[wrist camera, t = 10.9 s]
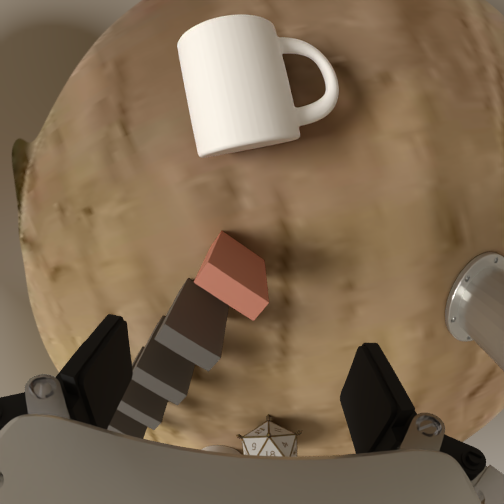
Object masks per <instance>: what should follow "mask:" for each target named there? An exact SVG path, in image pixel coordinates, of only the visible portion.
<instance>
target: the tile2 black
mask: <svg viewBox="0 0 504 504" xmlns="http://www.w3.org/2000/svg"><path fill="white" fill-rule="evenodd" d="M228 309H229V305H228V304H226V303H224V302H223V301H221V300H220V299H218V298H217V297H215V296H214V295H212V294H211V293H209V292H208V291H206V290H204V289H203V288H201V287H200V286H198V285H197V284H195V283H194V282H193V281H192V280H190V279H189V278H188V279H187V281H186V282H185V283H184V285H183V286H182V288H181V289H180V291H179V293H178V295H177V296H176V298H175V300H174V302H173V304H172V306H171V308H170V310H169V311H168V313H167V315H166V317H165V319H164V321H163V323H162V325H161V327H160V329H159V331H158V333H157V335H156V337H155V340H156V341H158V342H159V343H161V344H163V345H164V346H166V347H167V348H169V349H171V350H172V351H174V352H176V353H177V354H179V355H181V356H182V357H184V358H186V359H187V360H189V361H191V362H193V363H194V364H196V365H198V366H200V367H201V368H203V369H205V370H207V371H210V369H211V368H212V367H213V366H214V365H215V364H216V363H217V362H218V360H219V359H220V358H221V353H222V347H223V340H224V334H225V327H226V321H227V315H228Z"/></svg>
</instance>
